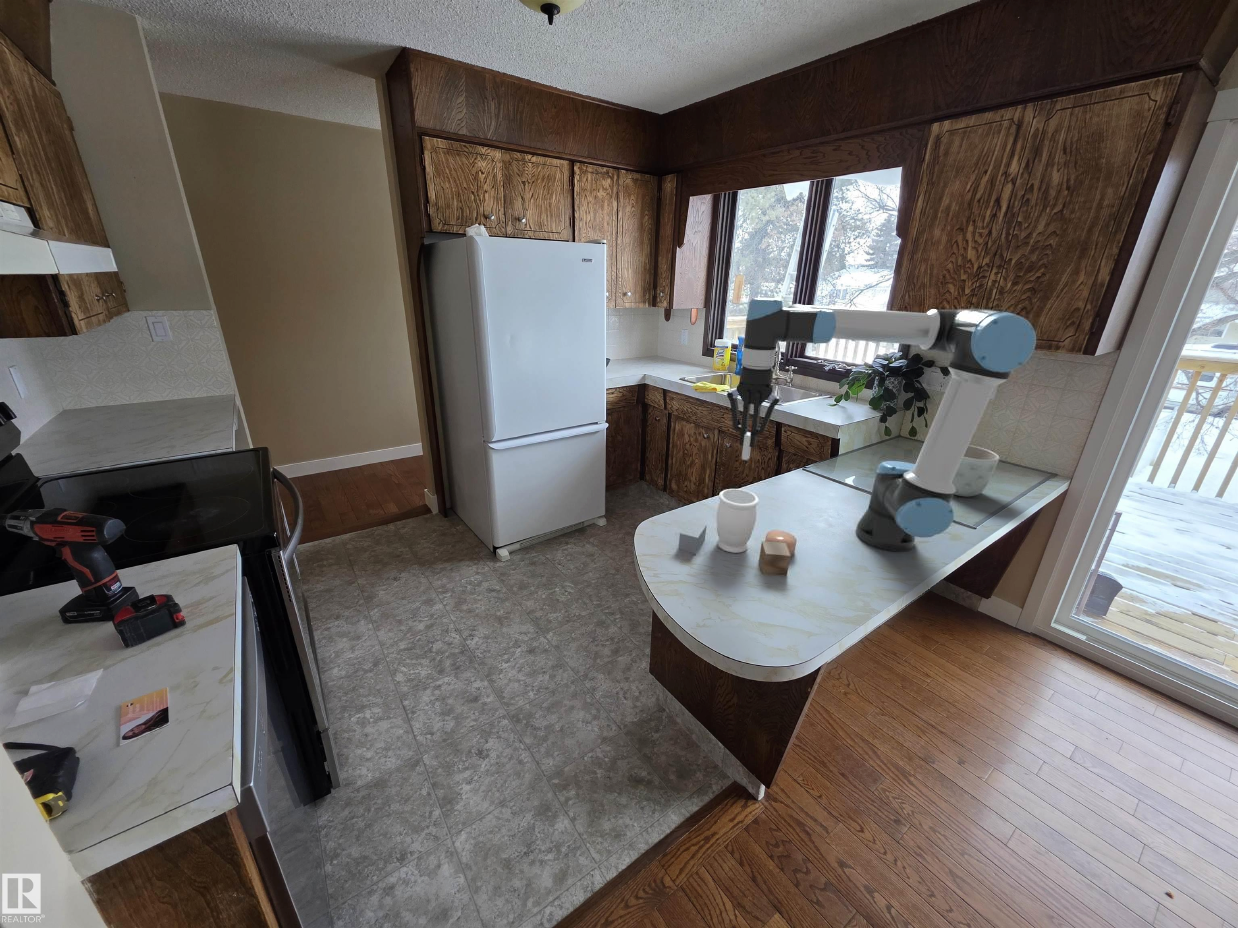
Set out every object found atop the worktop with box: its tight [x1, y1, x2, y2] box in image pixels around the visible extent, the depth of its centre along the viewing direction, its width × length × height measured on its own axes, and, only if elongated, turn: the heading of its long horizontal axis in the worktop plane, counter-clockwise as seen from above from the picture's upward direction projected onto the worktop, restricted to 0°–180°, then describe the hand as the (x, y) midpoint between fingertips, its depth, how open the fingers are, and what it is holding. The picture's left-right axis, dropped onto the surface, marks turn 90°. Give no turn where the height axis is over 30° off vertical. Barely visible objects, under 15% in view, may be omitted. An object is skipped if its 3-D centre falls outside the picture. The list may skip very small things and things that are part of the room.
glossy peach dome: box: [764, 530, 798, 558], centre depth 136 cm, size 8×8×4 cm
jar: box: [716, 488, 759, 554], centre depth 135 cm, size 11×10×15 cm
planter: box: [952, 444, 1000, 497], centre depth 175 cm, size 17×17×15 cm
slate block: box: [678, 520, 708, 554], centre depth 137 cm, size 5×8×5 cm, turn 154°
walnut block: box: [758, 540, 792, 577], centre depth 127 cm, size 6×6×6 cm
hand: (745, 457), depth 128 cm, fingers closed
